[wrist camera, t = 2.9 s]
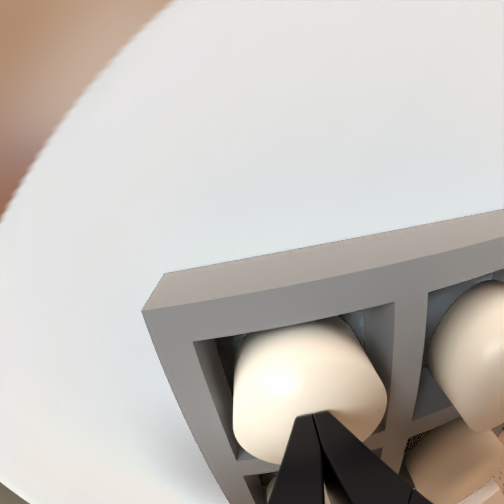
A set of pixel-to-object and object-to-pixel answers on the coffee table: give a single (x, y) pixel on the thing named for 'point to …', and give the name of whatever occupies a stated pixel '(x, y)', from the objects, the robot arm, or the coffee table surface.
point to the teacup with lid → (503, 474)
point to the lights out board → (313, 308)
